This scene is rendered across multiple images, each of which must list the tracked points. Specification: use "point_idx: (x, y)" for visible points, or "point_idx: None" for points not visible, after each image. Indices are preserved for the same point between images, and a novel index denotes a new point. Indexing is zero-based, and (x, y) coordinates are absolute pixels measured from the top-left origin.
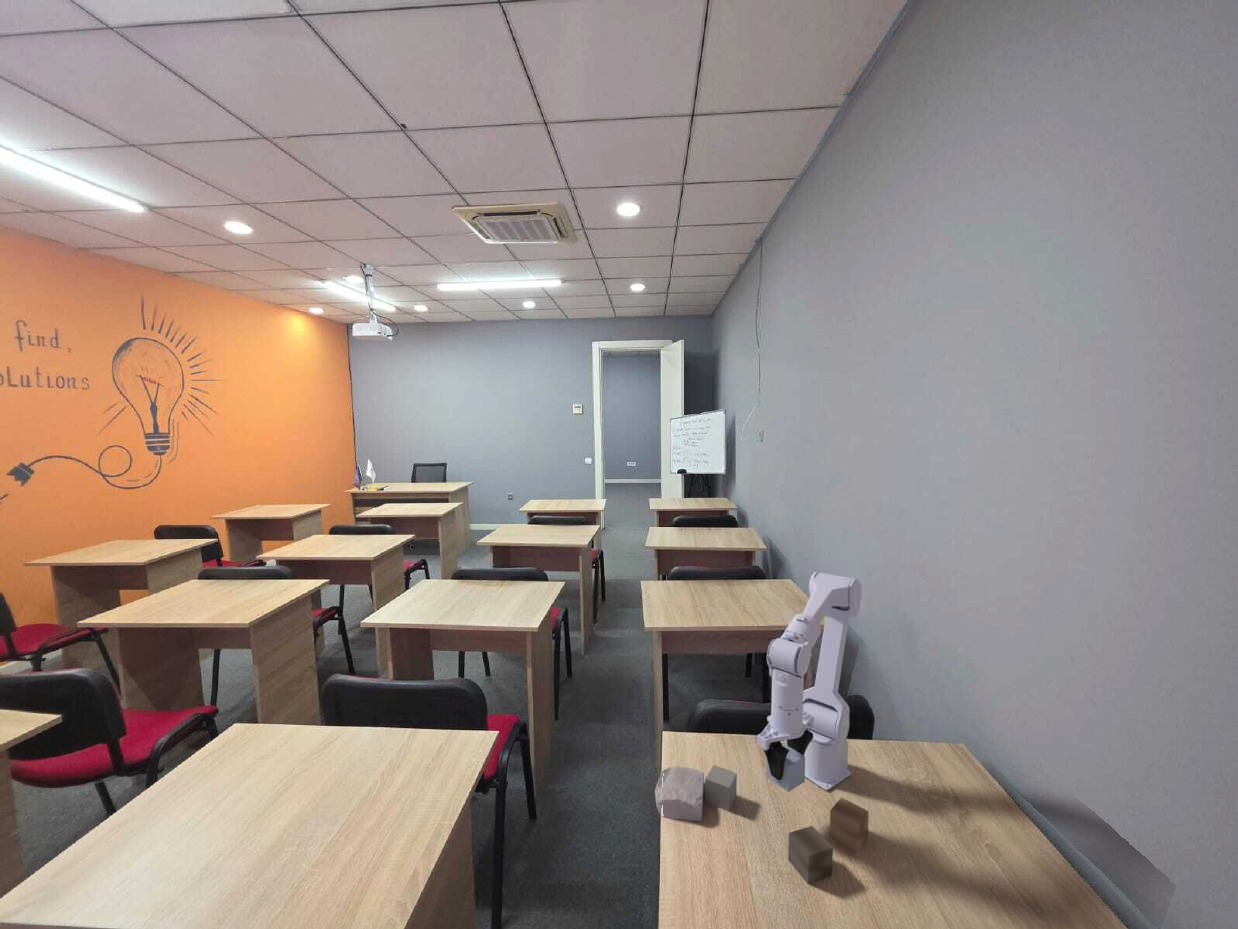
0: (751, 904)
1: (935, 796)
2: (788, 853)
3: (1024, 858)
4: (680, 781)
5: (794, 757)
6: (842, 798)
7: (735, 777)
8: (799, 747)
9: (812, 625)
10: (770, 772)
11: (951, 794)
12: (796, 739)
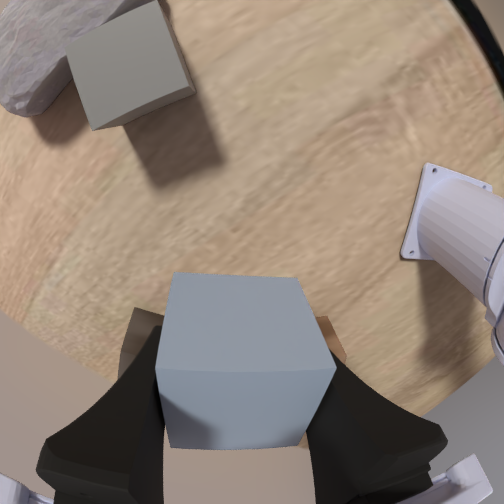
0: (23, 310)
1: (460, 349)
2: (131, 317)
3: None
4: (48, 1)
5: (251, 439)
6: (343, 359)
7: (172, 93)
8: (315, 451)
9: None
10: (151, 332)
11: (468, 354)
12: (332, 470)
